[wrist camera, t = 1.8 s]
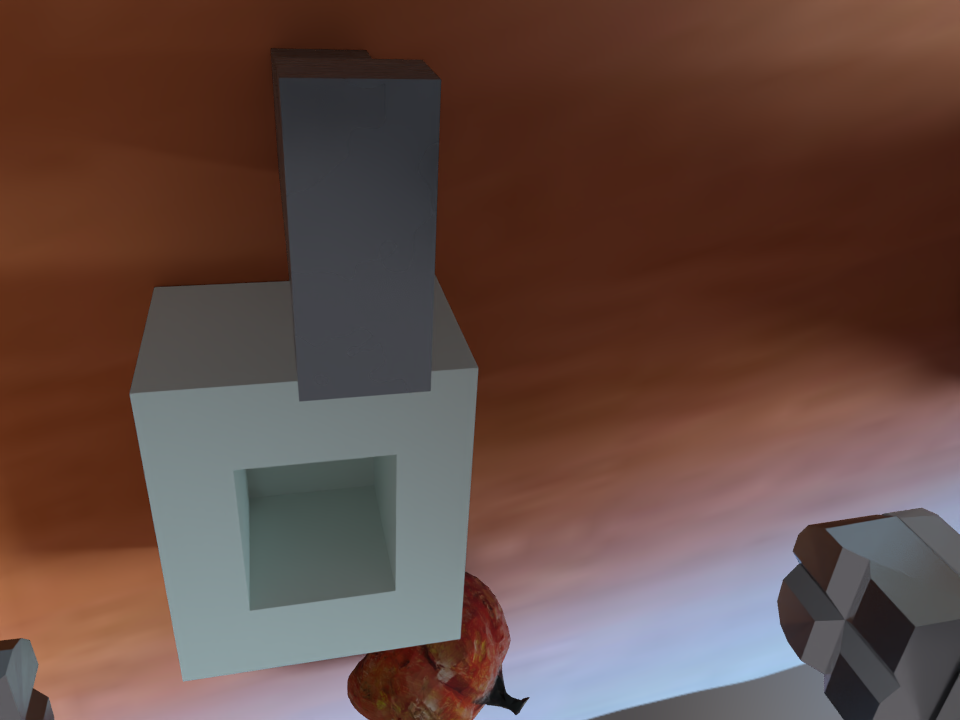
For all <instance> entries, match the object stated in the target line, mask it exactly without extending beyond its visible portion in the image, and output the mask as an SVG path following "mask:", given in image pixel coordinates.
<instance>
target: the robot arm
mask: <svg viewBox="0 0 960 720" xmlns="http://www.w3.org/2000/svg"><path fill="white" fill-rule="evenodd" d="M793 553H794V555H795V557H796V558H797V560H798V562H799V564H798V565H797V566H796V567H795V568H794V569H793V570H792V571H791V572H790V573H789V574H788V575H787V576H786V577H785V578H784V579H783V582H782V586H781V589H780V593H779V597H778V600H777V603H778V610H779V618H780V625H781V627H782V629H783V632H784V634H785V636H786V639H787V641H788V643H789V644H790V646H791V647H792V649H793V650H794V652H795V653H796V654H797V656H798V657H799V659H800V660H801V661H803V662H804V663H806V664H808V665H810V666H811V667H813V668H814V669H816V670H818V671H819V672H821V673H823V674H824V693H825V695H826V696H827V698H828V699H829V700H830V701H831V703H832V704H833V706H834V707H835V708H836V710H837V711H838V713H839V714H840V715H841V717H842V718H843V719H844V720H960V534H958V533H957V532H956V531H955V530H954V529H953V528H952V527H951V526H950V525H948V524H947V523H946V522H945V521H944V520H943V519H942V518H941V517H939V516H938V515H937V514H935V513H933V512H930V511H928V510H926V509H923V508H918V509H911V510H904V511H898V512H891V513H885V514H882V515H871V516H864V517H858V518H851V519H845V520H839V521H832V522H826V523H819V524H813V525H808V526H807V527H806V528H805V529H804V530H803V531H802V532H801V533H800V534H799V535H798V537H797V540H796V543H795V546H794V549H793ZM37 669H38V662H37V659H36V656H35V654H34V651H33V648H32V645H31V643H30V640H27V639H22V638H19V639H10V640H2V641H0V720H54V715H53V711H52V708H51V704H50V701H49V697H47V696H46V695H44V694H42V693H40V692H39V691H37V690H35V689H33V685H34V681H35V677H36V673H37Z"/></svg>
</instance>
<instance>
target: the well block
mask: <svg viewBox="0 0 960 720" xmlns="http://www.w3.org/2000/svg"><path fill="white" fill-rule="evenodd" d="M477 382H478V366H477V364H476V362H475V359H474V357H473V355H472V353H471V351H470V349H469V346H468V344H467V342H466V340H465V338H464V336H463V334H462V331H461V329H460V327H459V325H458V323H457V321H456V319H455V316H454V314H453V312H452V310H451V308H450V306H449V303H448V301H447V299H446V297H445V295H444V293H443V291H442V288H441V286H440V284H439V282H438V280H437V278H436V275H435V279H434V309H433V339H432V370H431V391H426V392H414V393H401V394H389V395H376V396H363V397H351V398H338V399H326V400H313V401H301V402H299V394H298V383H297V372H296V362H295V348H294V332H293V317H292V302H291V291H290V281H281V282H259V283H237V284H215V285H193V286H171V287H154V291H153V295H152V299H151V304H150V308H149V312H148V316H147V321H146V325H145V329H144V334H143V338H142V342H141V346H140V351H139V355H138V359H137V364H136V368H135V372H134V376H133V381H132V385H131V389H130V393H129V394H130V399H131V404H132V410H133V415H134V420H135V426H136V431H137V437H138V442H139V447H140V453H141V458H142V463H143V469H144V474H145V480H146V485H147V490H148V496H149V501H150V506H151V512H152V517H153V523H154V528H155V533H156V539H157V544H158V549H159V555H160V560H161V565H162V571H163V576H164V582H165V587H166V592H167V598H168V603H169V608H170V614H171V619H172V625H173V630H174V635H175V641H176V646H177V651H178V657H179V662H180V667H181V673H182V678H183V681H190V680H196V679H203V678H209V677H216V676H222V675H229V674H235V673H242V672H248V671H255V670H261V669H268V668H274V667H281V666H287V665H294V664H300V663H307V662H314V661H320V660H327V659H333V658H340V657H346V656H353V655H359V654H366V653H372V652H379V651H385V650H392V649H398V648H405V647H411V646H418V645H424V644H431V643H437V642H444V641H450V640H457V639H460V637H461V622H462V607H463V592H464V577H465V562H466V547H467V532H468V517H469V502H470V487H471V472H472V457H473V442H474V427H475V412H476V397H477Z"/></svg>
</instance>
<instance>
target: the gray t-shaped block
mask: <svg viewBox="0 0 960 720" xmlns="http://www.w3.org/2000/svg"><path fill="white" fill-rule="evenodd" d="M271 62H272V77H273V92H274V107H275V122H276V137H277V152H278V167H279V179H280V189H281V200H282V210H283V220H284V230H285V240H286V251H287V261H288V271H289V281H290V291H291V302H292V317H293V332H294V348H295V362H296V372H297V383H298V394H299V402H301V401H313V400H326V399H338V398H351V397H363V396H376V395H389V394H401V393H414V392H426V391H431V370H432V339H433V309H434V279H435V248H436V218H437V188H438V158H439V127H440V97H441V79H440V78H439V77H438V76H437V75H436V74H435V73H434V72H433V71H432V69H431V68H430V67H429V66H428V65H427V64H426V63H425V62H424V61H423V60H404V59H372V58H371V56H370V55H369V53H368V52H367V50H328V49H277V48H271Z"/></svg>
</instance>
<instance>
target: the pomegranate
mask: <svg viewBox="0 0 960 720" xmlns="http://www.w3.org/2000/svg"><path fill="white" fill-rule="evenodd" d="M509 645H510V635H509V630H508V626H507V624H506V620H505V617H504V613H503V610H502V608H501V606H500V604H499V603H498V601H497V599H496V597H495V595H494V594H493V593H492V592H491V590H490V589H489V587H487V586H486V585H485V584H484V583H483V582H481V581H480V580H479V579H478V578H477V577H475V576H472V575H470V574H469V573H467V572H465V577H464V592H463V607H462V622H461V637H460V639H457V640H450V641H444V642H437V643H431V644H424V645H418V646H411V647H405V648H398V649H392V650H385V651H379V652H372V653H367V655H366V656H365V657H364V658H363V659H362V660H361V661H360V662H359V663H358V664H357V666H356V667H355V669H354V670H353V671H352V673H351V674H350V676H349V678H348V686H347V690H348V698H349V699H350V701H351V703H352V705H353V706H354V708H355V709H356V710H357V711H358V712H359V713H360V714H362V715H363V716H364V717H366V718H367V719H369V720H473V719H474V718H475V717H476V715H477V714H478V713H479V712H480V710H481V709H482V708H483V706H484V705H485V704H487V705H493V706H500V707H503V708H506V709H510V710H511V711H512V712H513V713H514V714H515V715H517V714H518V713H520V710H521V709H522V707H523V706H524V704H525V703H526V702H527V700H528V699H529V698H530V697H527V698H524V699H522V700H519V699H515V698H512V697H511V696H509V695H508V694H507V693H506V690H505V686H504V680H503V674H502V662H503V660H504V658H505V656H506V653H507V651H508V649H509Z"/></svg>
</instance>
